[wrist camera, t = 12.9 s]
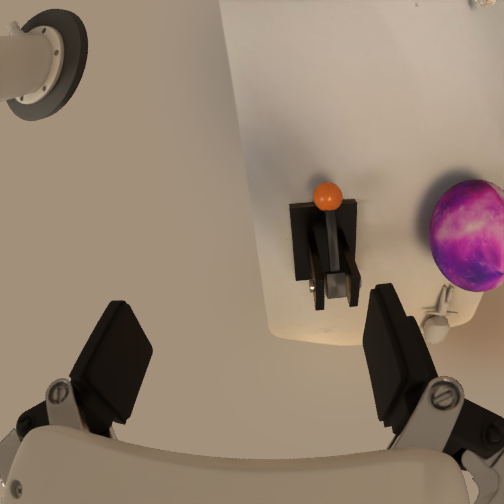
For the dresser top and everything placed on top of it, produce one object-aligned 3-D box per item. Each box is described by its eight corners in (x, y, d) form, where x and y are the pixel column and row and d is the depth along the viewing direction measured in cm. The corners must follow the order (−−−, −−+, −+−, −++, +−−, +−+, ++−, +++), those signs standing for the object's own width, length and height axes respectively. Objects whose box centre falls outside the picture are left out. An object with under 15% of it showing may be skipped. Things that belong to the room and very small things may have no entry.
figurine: (470, 291, 40) (453, 348, 43) (459, 281, 45) (444, 335, 48) (434, 290, 42) (418, 349, 45) (425, 279, 47) (412, 335, 50)
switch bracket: (289, 204, 38) (294, 251, 28) (354, 199, 37) (381, 244, 27) (295, 276, 44) (299, 333, 34) (352, 271, 43) (369, 326, 33)
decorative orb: (409, 258, 41) (447, 326, 28) (414, 167, 33) (475, 215, 21) (478, 246, 38) (523, 301, 26) (490, 164, 31) (553, 206, 18)
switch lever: (310, 186, 34) (312, 180, 30) (338, 184, 33) (342, 178, 30) (320, 294, 34) (323, 300, 31) (347, 292, 34) (353, 297, 30)
